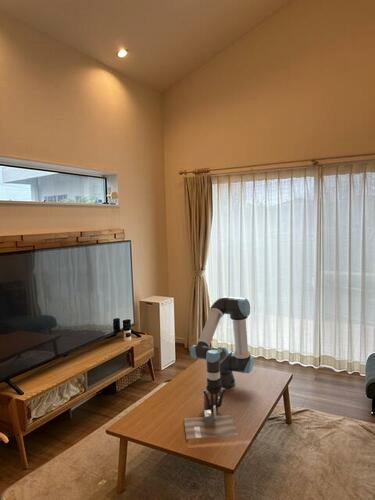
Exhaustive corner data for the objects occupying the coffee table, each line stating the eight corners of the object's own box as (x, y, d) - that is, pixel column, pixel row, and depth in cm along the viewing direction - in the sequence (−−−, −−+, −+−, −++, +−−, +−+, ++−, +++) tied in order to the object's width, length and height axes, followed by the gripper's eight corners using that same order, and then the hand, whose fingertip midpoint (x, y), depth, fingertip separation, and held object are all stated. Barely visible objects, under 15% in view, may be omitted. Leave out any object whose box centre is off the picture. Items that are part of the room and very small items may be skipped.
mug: (201, 414, 222) (200, 397, 221) (205, 407, 230) (204, 391, 229) (220, 417, 218) (220, 400, 217) (224, 409, 226) (223, 393, 225)
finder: (204, 418, 215) (203, 409, 214) (212, 417, 215) (212, 408, 215) (205, 425, 208) (205, 415, 207) (214, 424, 208) (214, 415, 208)
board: (183, 417, 218) (183, 415, 218) (230, 414, 220) (230, 412, 220) (186, 441, 196) (186, 438, 195) (238, 436, 198) (238, 434, 198)
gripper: (203, 381, 205) (204, 422, 207) (226, 379, 206) (227, 420, 208) (201, 375, 212) (202, 415, 215) (223, 374, 214) (224, 413, 216)
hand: (214, 417), depth 211 cm, fingers closed
